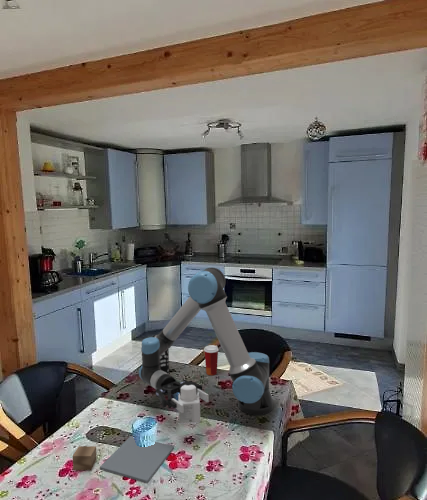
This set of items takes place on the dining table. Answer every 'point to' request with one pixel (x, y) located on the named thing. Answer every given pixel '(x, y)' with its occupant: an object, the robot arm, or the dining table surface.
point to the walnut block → (84, 458)
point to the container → (189, 403)
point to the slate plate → (137, 460)
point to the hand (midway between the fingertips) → (195, 403)
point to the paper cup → (211, 359)
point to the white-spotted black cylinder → (164, 360)
